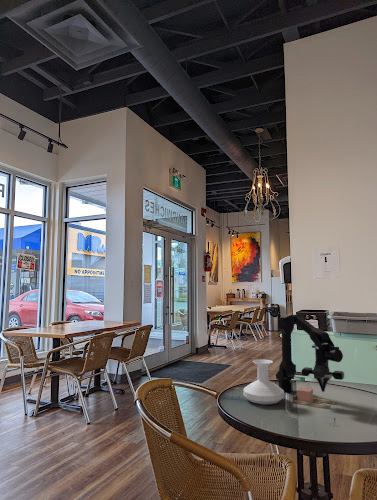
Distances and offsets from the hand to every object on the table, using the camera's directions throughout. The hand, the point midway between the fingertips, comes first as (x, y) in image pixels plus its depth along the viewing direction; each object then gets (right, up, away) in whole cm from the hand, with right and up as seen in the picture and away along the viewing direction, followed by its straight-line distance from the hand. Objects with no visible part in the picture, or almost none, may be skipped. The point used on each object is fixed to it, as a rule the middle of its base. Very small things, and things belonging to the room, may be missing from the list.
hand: (323, 391), depth 174 cm
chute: (-4, -7, +2) cm, 8 cm away
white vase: (-27, -8, +7) cm, 29 cm away
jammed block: (-7, -7, +4) cm, 11 cm away
